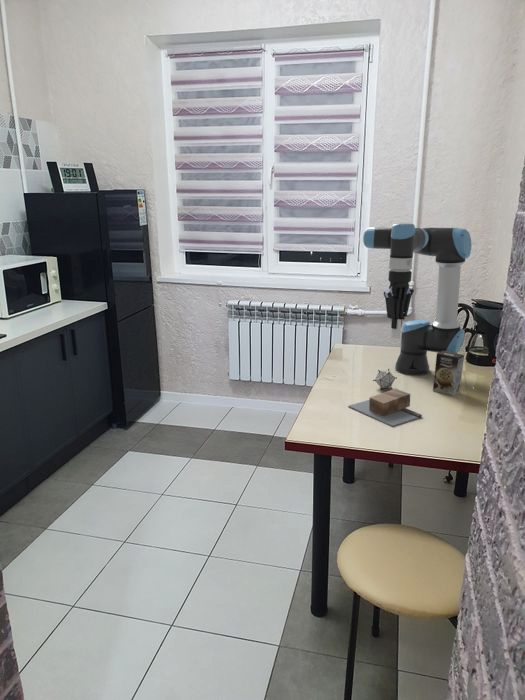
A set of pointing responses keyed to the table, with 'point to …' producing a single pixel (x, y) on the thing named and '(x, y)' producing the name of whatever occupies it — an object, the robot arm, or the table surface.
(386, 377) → the game die
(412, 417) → the grey flat panel
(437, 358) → the coffee box
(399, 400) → the walnut block
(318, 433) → the table surface
